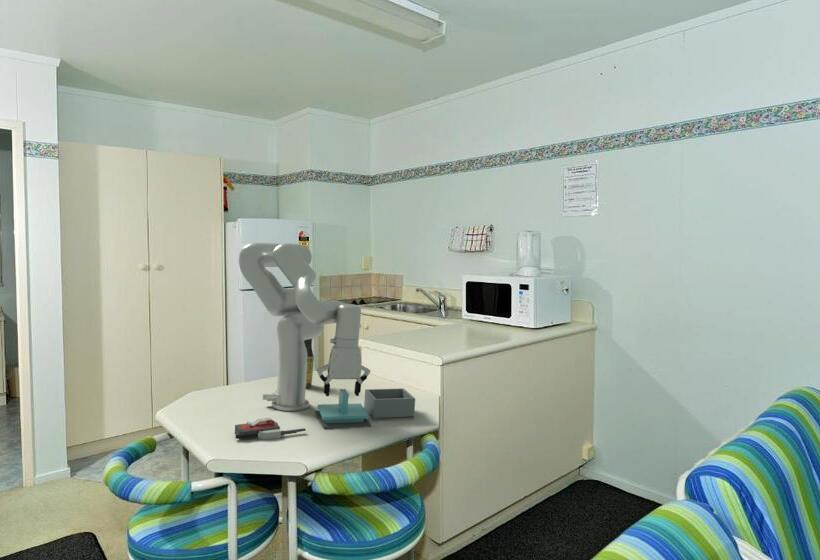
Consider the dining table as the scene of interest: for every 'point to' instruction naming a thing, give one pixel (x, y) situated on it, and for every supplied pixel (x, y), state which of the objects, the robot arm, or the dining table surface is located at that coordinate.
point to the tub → (389, 404)
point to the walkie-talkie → (261, 430)
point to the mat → (341, 425)
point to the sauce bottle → (309, 361)
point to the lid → (343, 410)
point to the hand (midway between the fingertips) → (341, 395)
